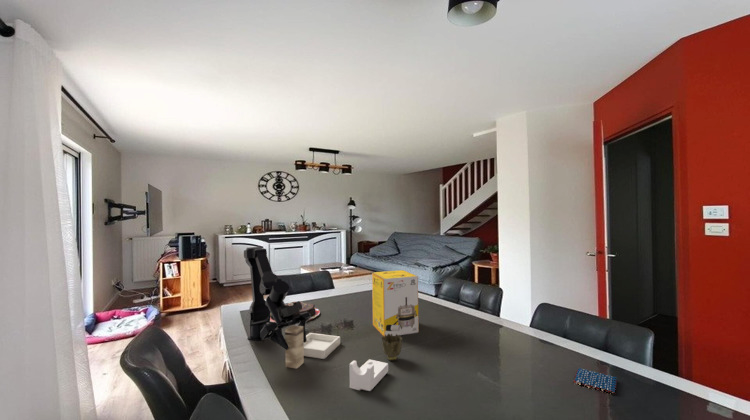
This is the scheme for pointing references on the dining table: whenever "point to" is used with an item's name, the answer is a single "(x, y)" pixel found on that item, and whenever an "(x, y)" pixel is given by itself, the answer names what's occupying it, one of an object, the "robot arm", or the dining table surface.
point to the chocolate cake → (304, 310)
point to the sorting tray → (320, 345)
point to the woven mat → (595, 380)
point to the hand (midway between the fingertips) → (297, 345)
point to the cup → (392, 346)
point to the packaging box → (395, 302)
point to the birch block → (294, 346)
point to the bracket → (366, 374)
